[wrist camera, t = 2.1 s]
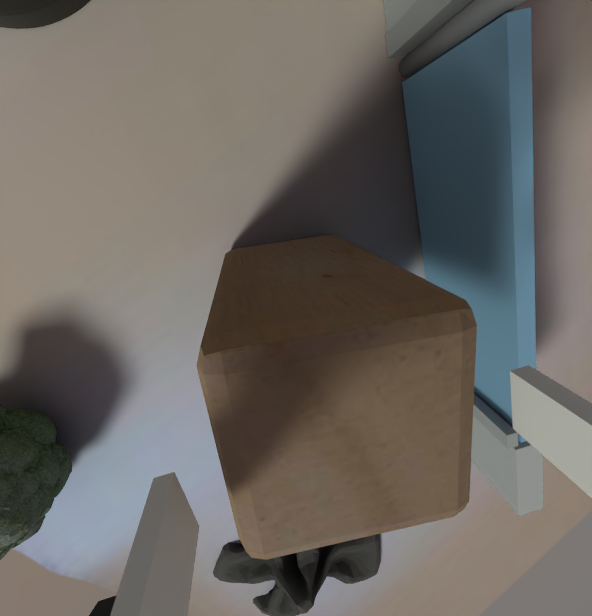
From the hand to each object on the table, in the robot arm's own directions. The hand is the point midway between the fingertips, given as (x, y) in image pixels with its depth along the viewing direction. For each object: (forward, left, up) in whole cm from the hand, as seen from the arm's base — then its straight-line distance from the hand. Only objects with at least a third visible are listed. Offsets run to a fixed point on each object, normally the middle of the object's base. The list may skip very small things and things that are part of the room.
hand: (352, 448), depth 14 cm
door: (-3, +14, -19) cm, 24 cm away
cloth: (+30, -7, -20) cm, 37 cm away
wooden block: (0, 0, -20) cm, 20 cm away
